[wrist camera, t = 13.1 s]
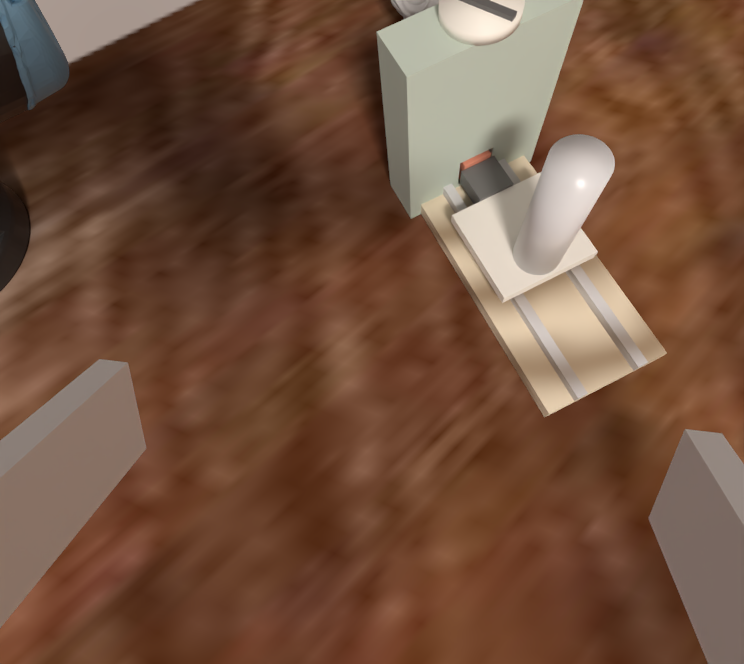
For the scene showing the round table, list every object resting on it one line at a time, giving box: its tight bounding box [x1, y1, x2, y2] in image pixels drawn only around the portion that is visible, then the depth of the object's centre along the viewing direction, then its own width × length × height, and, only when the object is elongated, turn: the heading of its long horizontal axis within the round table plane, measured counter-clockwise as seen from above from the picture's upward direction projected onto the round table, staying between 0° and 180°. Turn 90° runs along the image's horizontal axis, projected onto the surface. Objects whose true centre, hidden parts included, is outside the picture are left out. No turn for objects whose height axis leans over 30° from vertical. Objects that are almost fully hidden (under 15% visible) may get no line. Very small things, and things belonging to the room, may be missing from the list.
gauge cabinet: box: [377, 0, 583, 218], centre depth 38 cm, size 5×12×17 cm, turn 116°
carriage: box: [451, 134, 615, 303], centre depth 36 cm, size 11×8×12 cm
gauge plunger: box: [459, 150, 491, 179], centre depth 43 cm, size 4×2×2 cm, turn 26°
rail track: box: [421, 156, 667, 417], centre depth 41 cm, size 20×10×2 cm, turn 26°
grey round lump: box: [391, 0, 439, 19], centre depth 48 cm, size 6×7×7 cm
